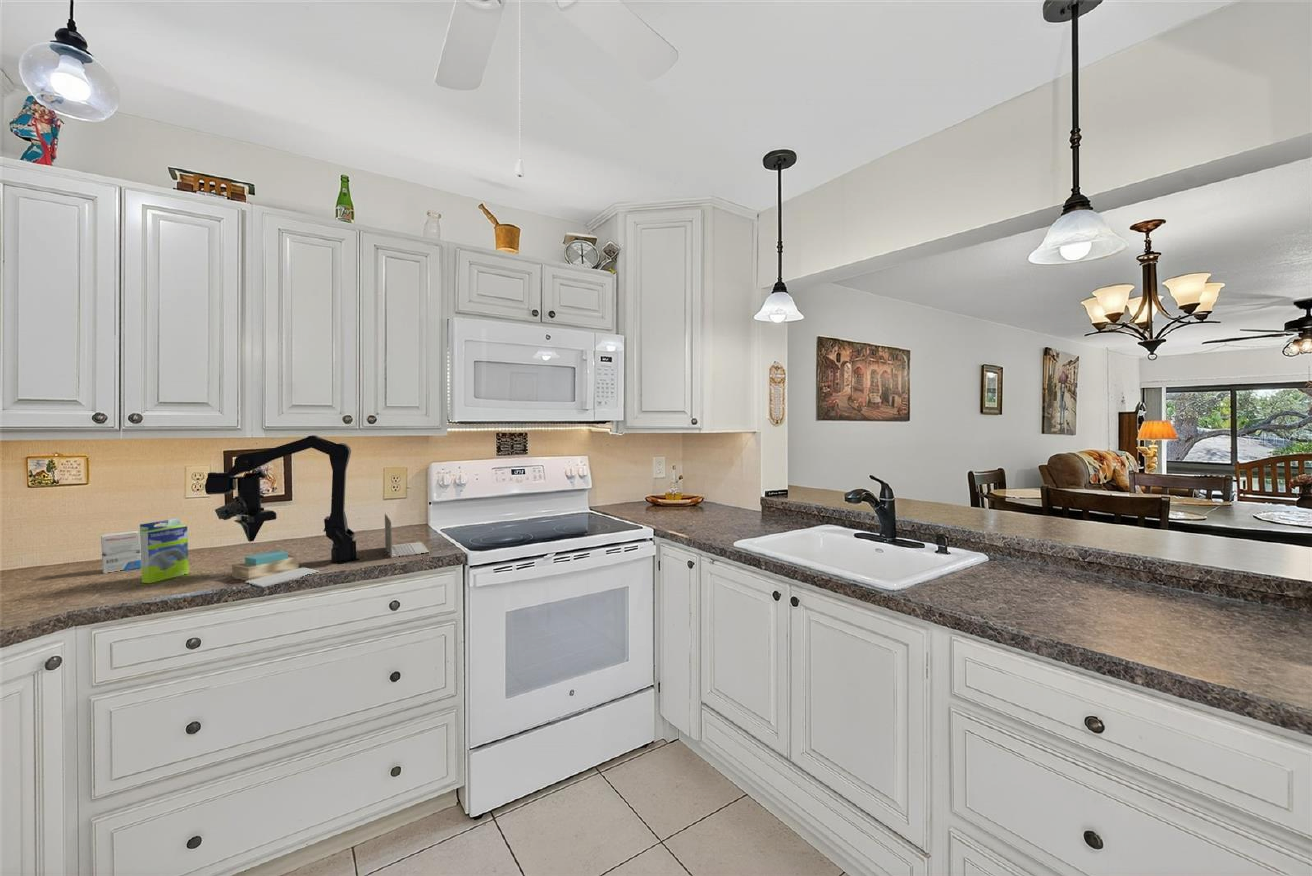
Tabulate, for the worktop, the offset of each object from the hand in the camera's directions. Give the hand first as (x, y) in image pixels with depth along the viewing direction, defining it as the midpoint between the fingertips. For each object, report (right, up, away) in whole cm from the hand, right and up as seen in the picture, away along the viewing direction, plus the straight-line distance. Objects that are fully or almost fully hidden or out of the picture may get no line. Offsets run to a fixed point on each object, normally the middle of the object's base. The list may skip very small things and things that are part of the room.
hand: (251, 541), depth 166 cm
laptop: (+38, -9, +25) cm, 46 cm away
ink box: (-42, -10, +1) cm, 43 cm away
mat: (+16, -10, -8) cm, 20 cm away
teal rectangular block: (+8, -5, -4) cm, 10 cm away
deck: (+7, -9, -3) cm, 12 cm away
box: (-20, -10, -8) cm, 23 cm away
